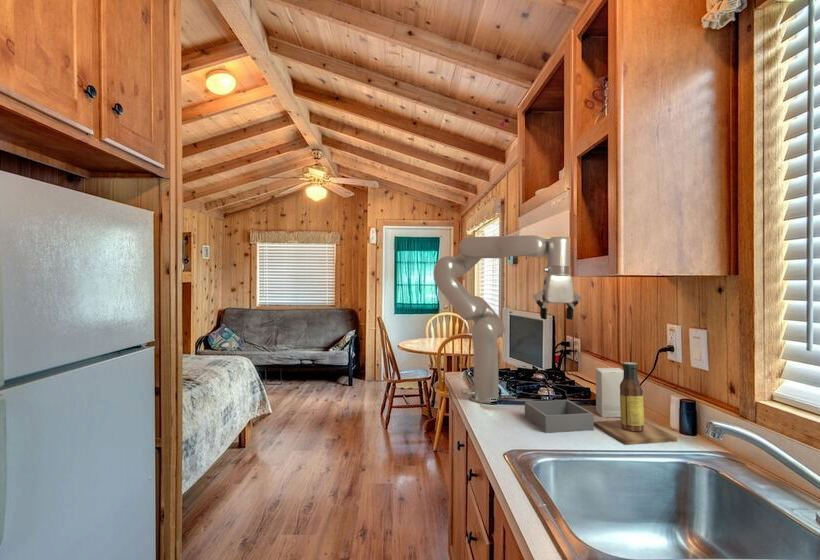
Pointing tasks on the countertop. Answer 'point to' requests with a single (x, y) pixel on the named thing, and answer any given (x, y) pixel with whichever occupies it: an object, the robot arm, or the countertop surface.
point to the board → (634, 433)
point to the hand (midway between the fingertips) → (556, 319)
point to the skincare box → (608, 391)
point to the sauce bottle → (631, 399)
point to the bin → (559, 416)
